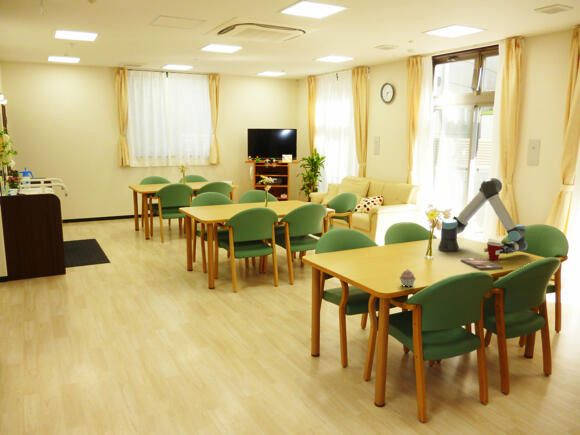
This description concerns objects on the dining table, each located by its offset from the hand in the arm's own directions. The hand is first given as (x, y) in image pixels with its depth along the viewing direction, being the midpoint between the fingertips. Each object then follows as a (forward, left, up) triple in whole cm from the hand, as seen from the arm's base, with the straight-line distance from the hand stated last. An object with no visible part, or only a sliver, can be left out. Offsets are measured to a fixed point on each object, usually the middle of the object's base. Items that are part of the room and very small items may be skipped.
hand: (490, 251), depth 322 cm
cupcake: (+42, -81, -7) cm, 91 cm away
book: (+9, -13, -6) cm, 17 cm away
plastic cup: (-2, +4, -7) cm, 8 cm away
